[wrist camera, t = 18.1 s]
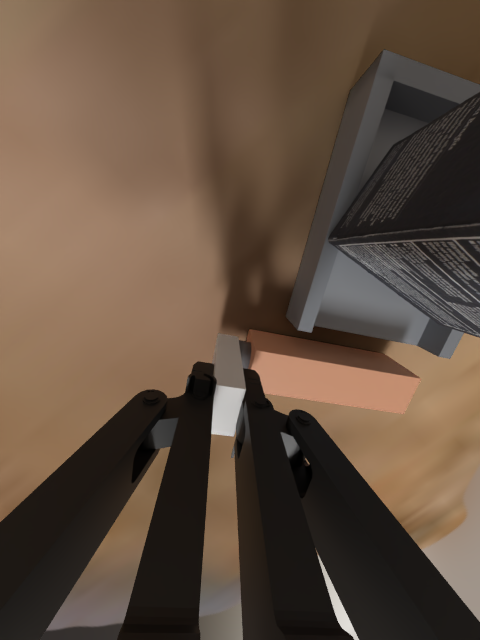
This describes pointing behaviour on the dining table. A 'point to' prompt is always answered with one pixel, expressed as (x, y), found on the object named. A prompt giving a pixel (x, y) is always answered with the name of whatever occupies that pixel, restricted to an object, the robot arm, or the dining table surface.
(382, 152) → the tray
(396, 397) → the bar
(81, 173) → the dining table surface
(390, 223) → the small box
